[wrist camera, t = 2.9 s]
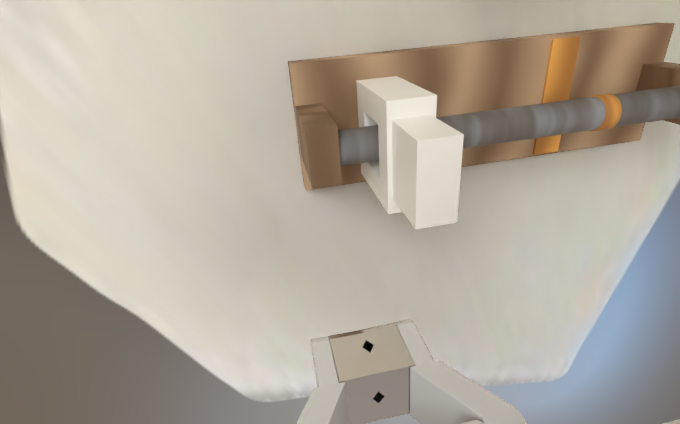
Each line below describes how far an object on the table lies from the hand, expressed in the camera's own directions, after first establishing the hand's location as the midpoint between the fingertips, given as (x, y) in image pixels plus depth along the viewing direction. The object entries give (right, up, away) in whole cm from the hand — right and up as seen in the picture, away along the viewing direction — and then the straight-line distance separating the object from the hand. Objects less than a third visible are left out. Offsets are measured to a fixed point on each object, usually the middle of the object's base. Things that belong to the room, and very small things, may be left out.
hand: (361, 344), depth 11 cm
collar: (+2, +10, +19) cm, 21 cm away
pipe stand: (+11, +13, +23) cm, 29 cm away
